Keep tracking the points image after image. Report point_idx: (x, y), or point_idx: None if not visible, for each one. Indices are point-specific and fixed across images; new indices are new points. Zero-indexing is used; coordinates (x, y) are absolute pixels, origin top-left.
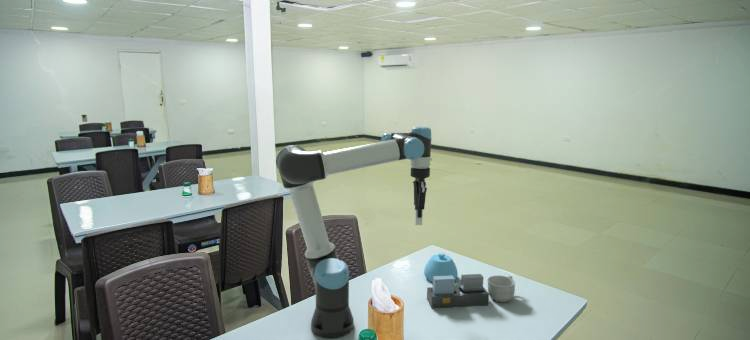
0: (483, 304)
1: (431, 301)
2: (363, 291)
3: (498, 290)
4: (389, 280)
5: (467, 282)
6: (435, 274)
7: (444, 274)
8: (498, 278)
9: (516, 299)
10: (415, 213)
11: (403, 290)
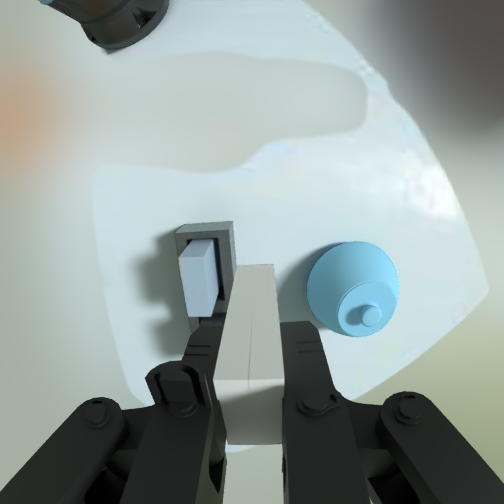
0: None
1: (182, 228)
2: (282, 55)
3: None
4: (348, 133)
5: None
6: (321, 271)
7: (312, 296)
8: None
9: None
10: (254, 329)
11: (284, 163)
